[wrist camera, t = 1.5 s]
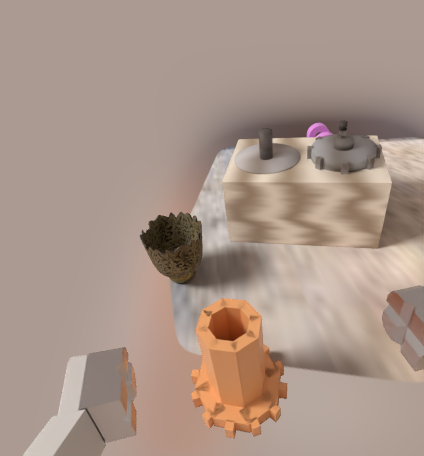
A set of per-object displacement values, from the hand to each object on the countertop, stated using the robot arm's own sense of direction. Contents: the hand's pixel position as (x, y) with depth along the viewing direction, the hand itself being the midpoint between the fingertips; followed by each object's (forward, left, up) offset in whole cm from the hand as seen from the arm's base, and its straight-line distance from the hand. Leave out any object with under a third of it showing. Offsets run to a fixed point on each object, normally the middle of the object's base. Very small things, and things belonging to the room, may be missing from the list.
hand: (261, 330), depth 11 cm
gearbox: (-1, -38, -24) cm, 45 cm away
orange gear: (+4, -10, -24) cm, 26 cm away
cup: (+14, -24, -24) cm, 37 cm away
